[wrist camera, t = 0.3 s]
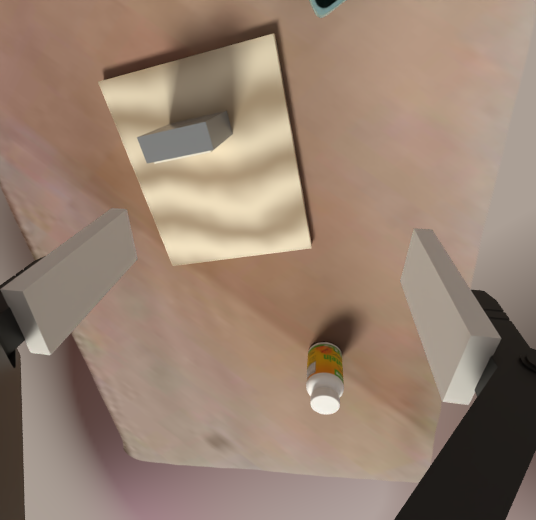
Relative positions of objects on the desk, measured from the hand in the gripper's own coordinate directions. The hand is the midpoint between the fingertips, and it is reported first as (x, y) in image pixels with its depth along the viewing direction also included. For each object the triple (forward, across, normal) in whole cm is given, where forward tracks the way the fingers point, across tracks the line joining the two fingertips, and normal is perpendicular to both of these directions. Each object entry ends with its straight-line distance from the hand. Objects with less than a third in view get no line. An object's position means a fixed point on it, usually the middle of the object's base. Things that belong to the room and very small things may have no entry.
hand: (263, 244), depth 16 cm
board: (+27, -10, -5) cm, 29 cm away
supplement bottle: (+27, +6, -34) cm, 44 cm away
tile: (+26, -11, 0) cm, 28 cm away
